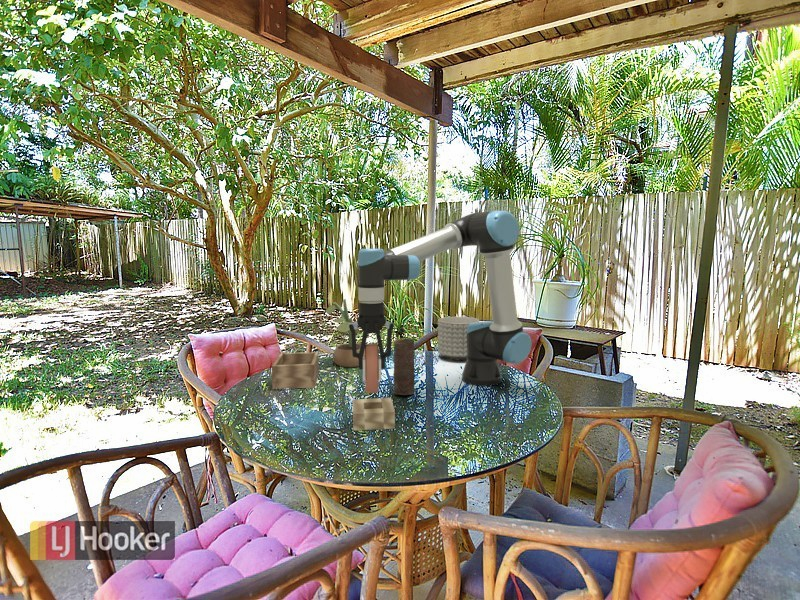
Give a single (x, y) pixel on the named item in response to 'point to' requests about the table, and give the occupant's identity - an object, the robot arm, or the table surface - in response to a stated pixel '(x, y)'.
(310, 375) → the frame
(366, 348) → the peg
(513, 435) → the table surface
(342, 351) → the potted plant
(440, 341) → the planter
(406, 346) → the brown log
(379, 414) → the socket block
